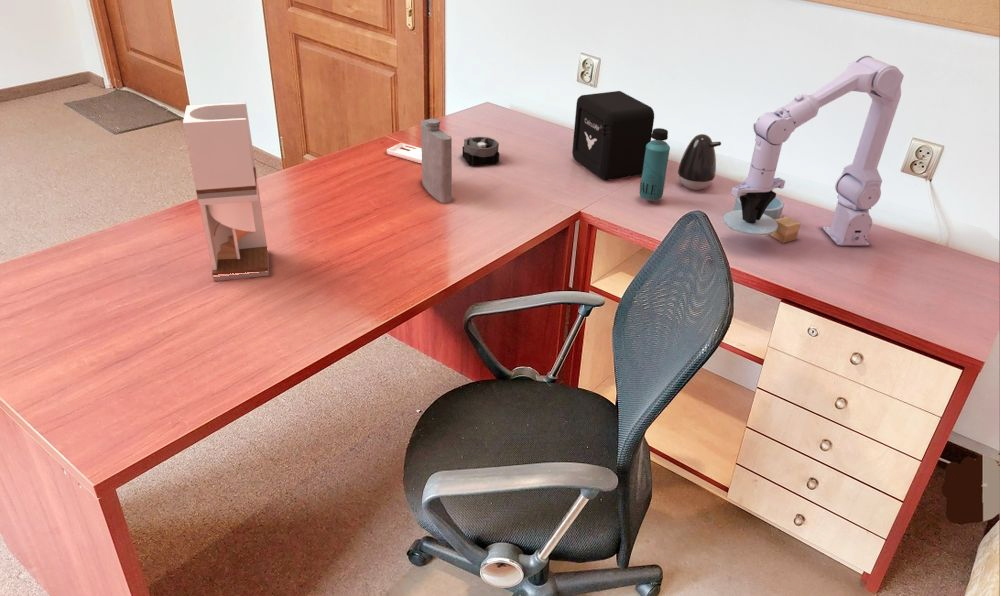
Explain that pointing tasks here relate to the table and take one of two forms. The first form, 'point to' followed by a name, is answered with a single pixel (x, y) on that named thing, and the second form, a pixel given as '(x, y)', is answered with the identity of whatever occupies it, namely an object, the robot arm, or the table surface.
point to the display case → (227, 188)
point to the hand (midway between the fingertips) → (751, 219)
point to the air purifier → (612, 134)
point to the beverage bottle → (655, 166)
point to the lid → (750, 223)
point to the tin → (772, 209)
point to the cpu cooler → (480, 151)
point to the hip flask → (436, 160)
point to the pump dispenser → (698, 163)
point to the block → (786, 229)
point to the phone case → (406, 152)
